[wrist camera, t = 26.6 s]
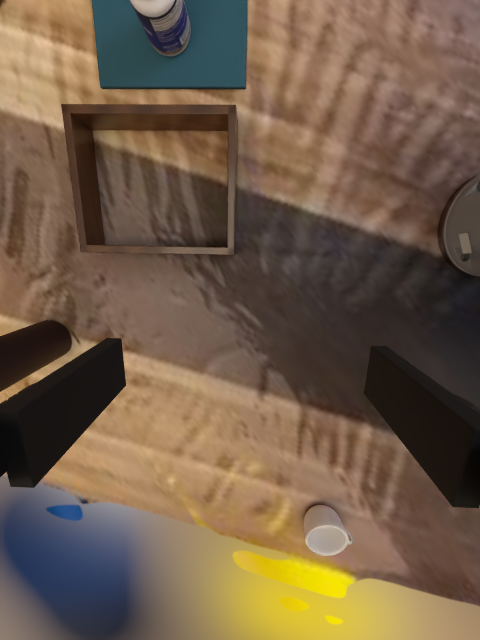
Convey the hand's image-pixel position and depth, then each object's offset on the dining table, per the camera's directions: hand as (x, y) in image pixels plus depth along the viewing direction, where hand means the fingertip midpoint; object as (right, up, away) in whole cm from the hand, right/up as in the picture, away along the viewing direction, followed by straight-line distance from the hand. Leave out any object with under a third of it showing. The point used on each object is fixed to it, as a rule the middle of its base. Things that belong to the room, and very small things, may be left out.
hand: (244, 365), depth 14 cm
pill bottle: (-9, +40, +21) cm, 46 cm away
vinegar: (-33, -1, +33) cm, 47 cm away
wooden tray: (-12, +22, +26) cm, 36 cm away
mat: (-9, +40, +21) cm, 46 cm away
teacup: (+17, -38, +42) cm, 59 cm away
